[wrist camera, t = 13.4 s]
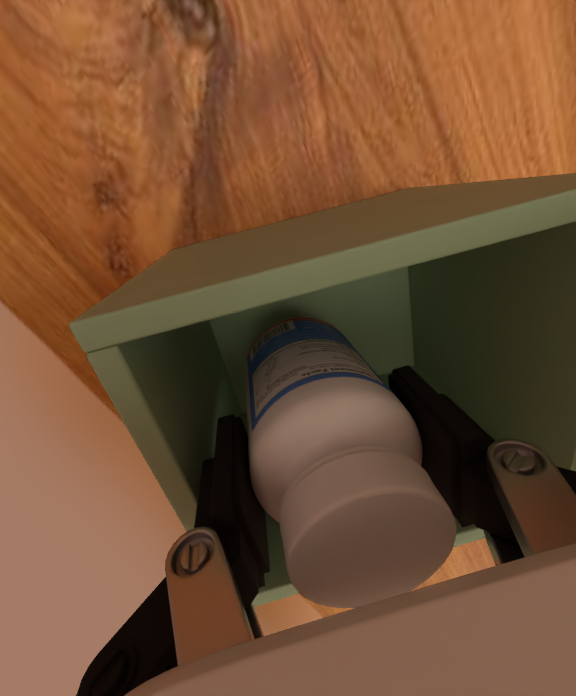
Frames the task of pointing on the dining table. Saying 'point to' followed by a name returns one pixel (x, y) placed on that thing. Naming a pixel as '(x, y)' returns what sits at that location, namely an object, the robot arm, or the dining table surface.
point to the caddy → (355, 321)
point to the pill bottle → (340, 469)
